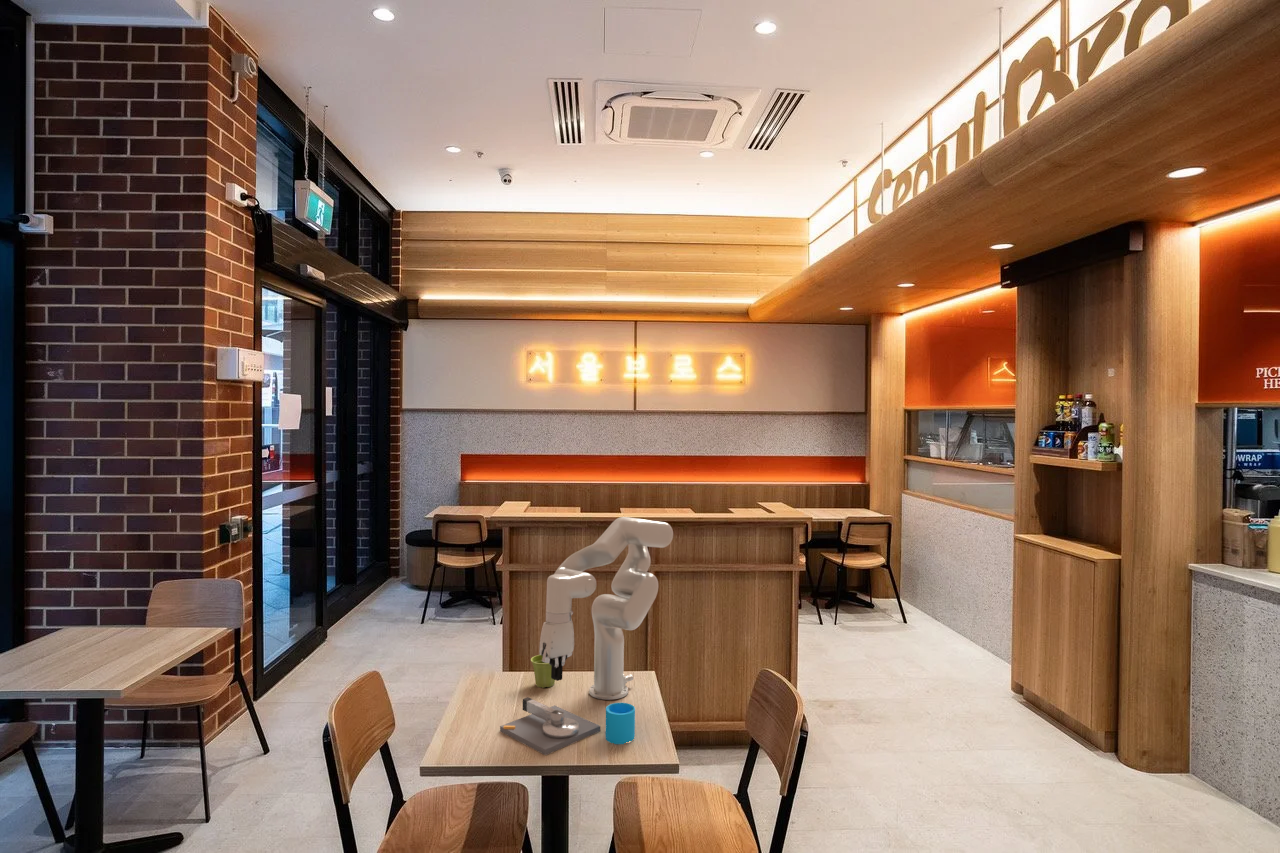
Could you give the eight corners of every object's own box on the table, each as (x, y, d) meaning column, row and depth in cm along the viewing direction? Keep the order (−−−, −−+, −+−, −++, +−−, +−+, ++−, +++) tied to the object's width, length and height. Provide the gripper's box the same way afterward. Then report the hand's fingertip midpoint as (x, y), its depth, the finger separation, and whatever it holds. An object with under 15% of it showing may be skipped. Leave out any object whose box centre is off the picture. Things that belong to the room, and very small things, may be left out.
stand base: (554, 710, 213) (554, 703, 213) (600, 731, 200) (600, 723, 200) (499, 731, 199) (499, 724, 199) (544, 755, 185) (544, 747, 185)
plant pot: (524, 686, 232) (525, 660, 232) (541, 677, 240) (541, 652, 240) (548, 692, 227) (548, 665, 227) (564, 682, 236) (564, 656, 236)
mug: (634, 744, 192) (634, 715, 192) (604, 744, 192) (604, 714, 192) (635, 725, 204) (636, 697, 204) (607, 724, 204) (608, 696, 204)
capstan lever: (538, 708, 211) (538, 693, 211) (586, 730, 197) (586, 714, 196) (511, 718, 204) (511, 702, 203) (558, 742, 189) (558, 725, 189)
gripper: (569, 610, 217) (567, 670, 217) (530, 618, 206) (528, 681, 206) (585, 615, 212) (583, 676, 211) (547, 624, 201) (545, 688, 200)
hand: (556, 678), depth 209 cm, fingers closed
